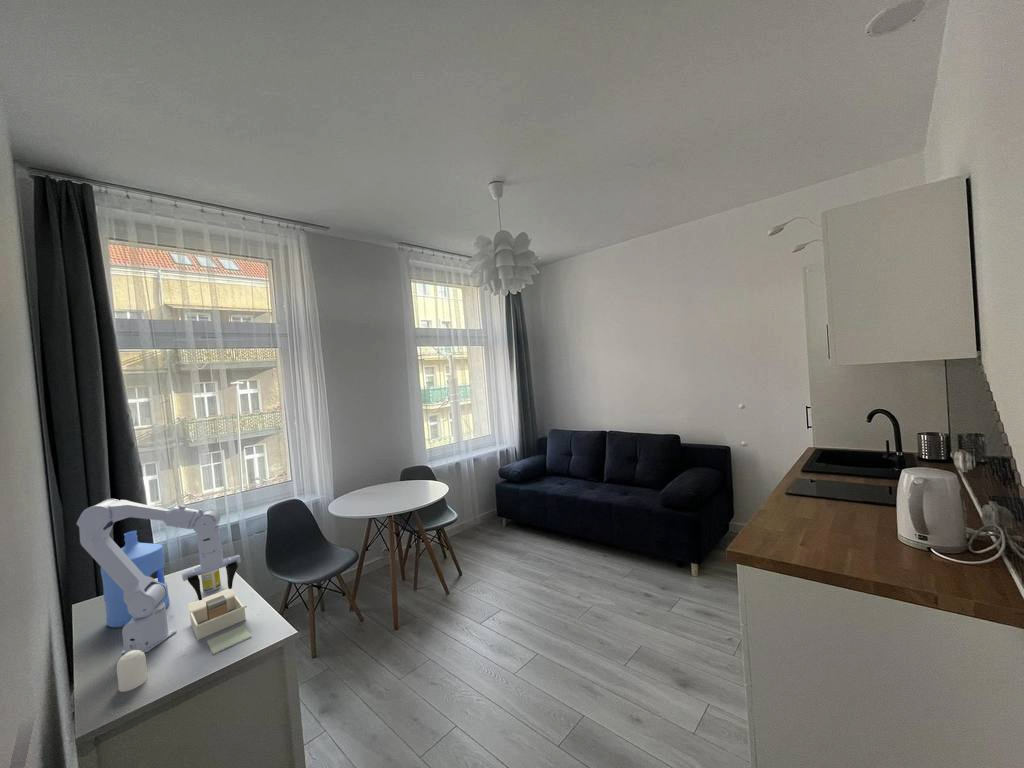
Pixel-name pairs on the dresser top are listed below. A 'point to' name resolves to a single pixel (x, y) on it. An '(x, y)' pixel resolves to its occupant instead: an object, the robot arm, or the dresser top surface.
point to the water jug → (147, 562)
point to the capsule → (131, 670)
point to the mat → (228, 639)
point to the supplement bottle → (211, 580)
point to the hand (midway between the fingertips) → (215, 593)
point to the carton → (209, 627)
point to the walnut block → (216, 607)
